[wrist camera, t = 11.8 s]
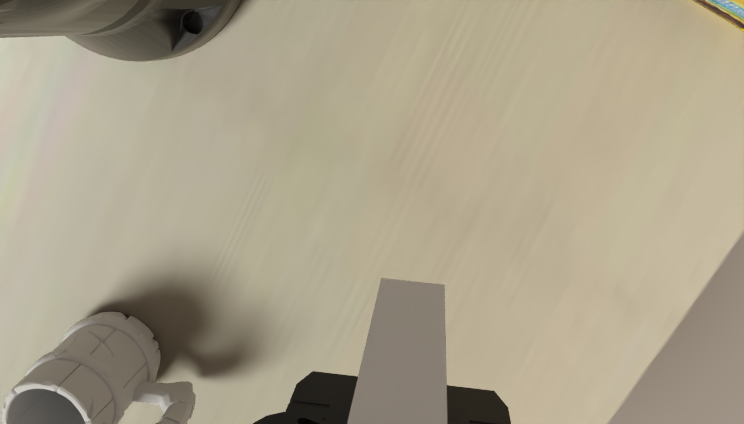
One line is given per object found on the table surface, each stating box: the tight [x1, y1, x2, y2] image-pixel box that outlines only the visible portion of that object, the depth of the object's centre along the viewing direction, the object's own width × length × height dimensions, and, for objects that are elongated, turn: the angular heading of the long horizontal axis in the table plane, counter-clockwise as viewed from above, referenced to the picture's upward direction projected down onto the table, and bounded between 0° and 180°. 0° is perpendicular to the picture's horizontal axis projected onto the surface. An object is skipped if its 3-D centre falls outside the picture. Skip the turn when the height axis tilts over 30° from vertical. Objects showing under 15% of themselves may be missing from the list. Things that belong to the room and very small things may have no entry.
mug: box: [1, 312, 195, 424], centre depth 45 cm, size 8×12×12 cm, turn 71°
